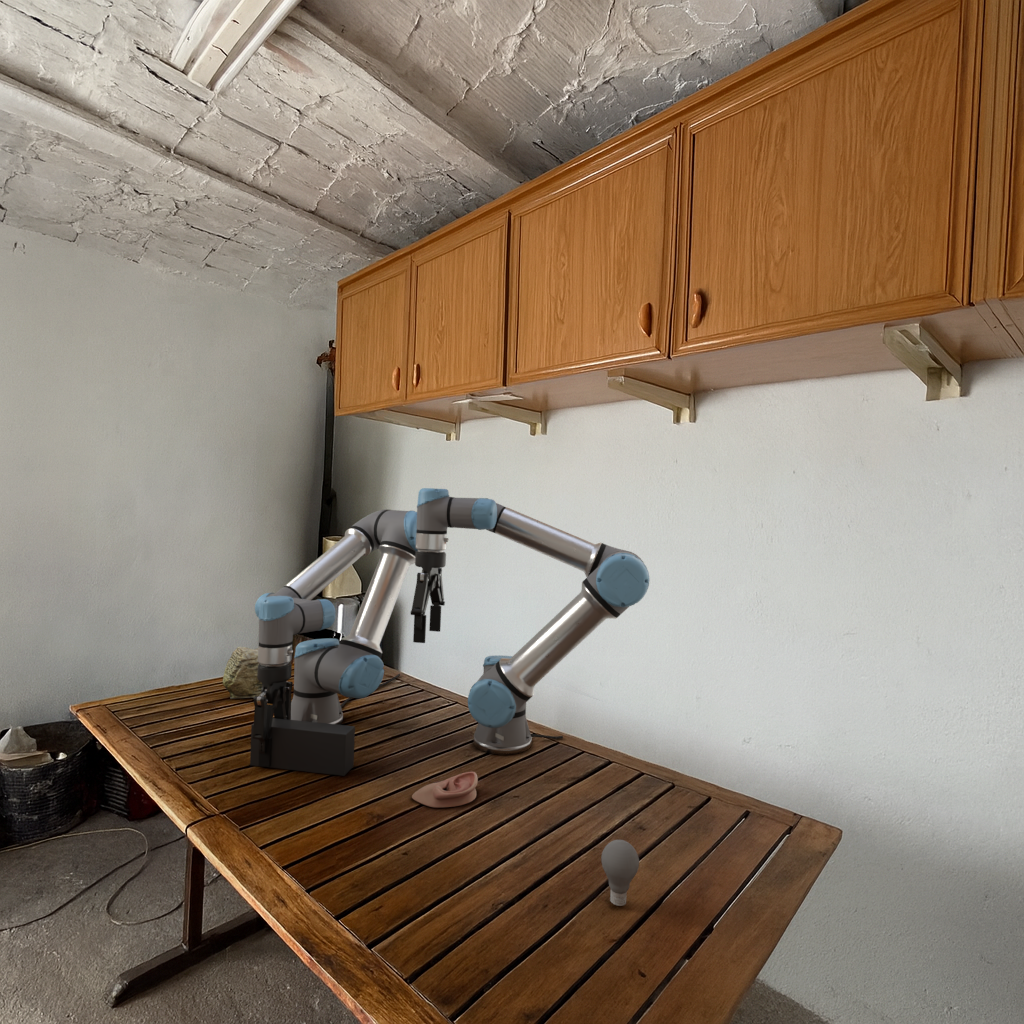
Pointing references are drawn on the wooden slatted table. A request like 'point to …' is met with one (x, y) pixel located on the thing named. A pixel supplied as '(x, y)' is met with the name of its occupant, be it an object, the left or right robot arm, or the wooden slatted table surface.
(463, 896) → the wooden slatted table surface
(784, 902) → the wooden slatted table surface
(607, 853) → the light bulb
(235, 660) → the fossil
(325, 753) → the bar
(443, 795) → the anatomical model
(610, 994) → the wooden slatted table surface
